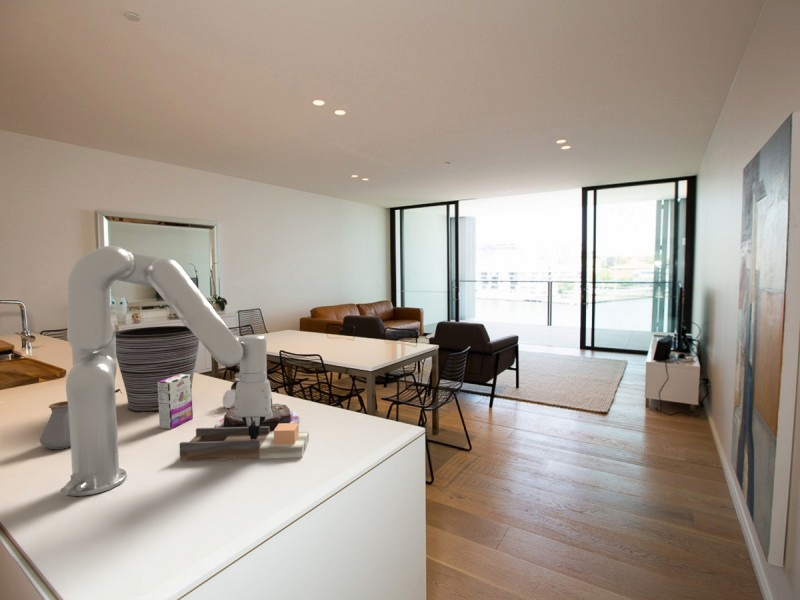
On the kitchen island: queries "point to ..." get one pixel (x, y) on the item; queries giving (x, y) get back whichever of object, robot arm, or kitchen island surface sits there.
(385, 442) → the kitchen island surface
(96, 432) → the robot arm
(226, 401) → the spread jar
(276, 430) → the block
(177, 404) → the candy bar box
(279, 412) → the chocolate cake
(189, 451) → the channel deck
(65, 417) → the coffee pot
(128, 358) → the planter pot
